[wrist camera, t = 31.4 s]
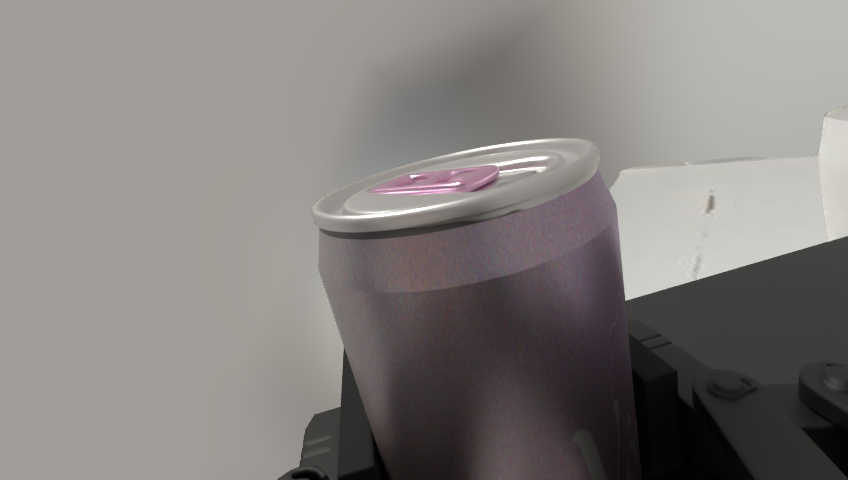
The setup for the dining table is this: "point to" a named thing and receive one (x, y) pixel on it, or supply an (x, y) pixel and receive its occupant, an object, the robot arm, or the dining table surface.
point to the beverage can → (486, 314)
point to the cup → (835, 172)
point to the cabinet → (759, 314)
